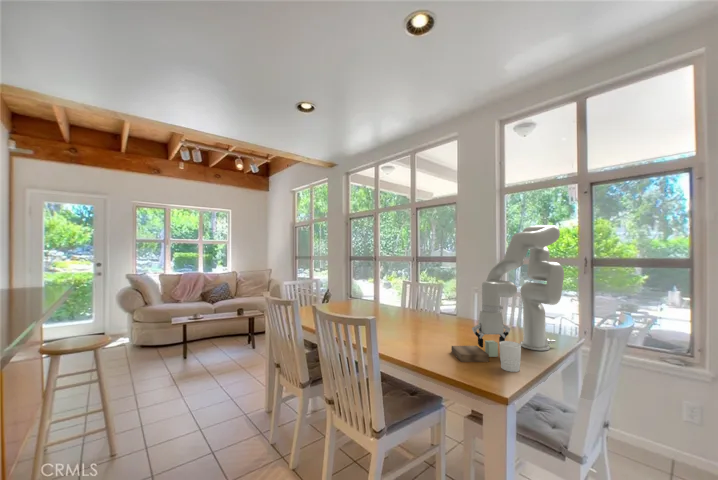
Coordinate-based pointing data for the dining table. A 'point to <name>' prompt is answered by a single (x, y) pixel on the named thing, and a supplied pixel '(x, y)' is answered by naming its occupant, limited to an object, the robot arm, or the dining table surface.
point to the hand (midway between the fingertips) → (491, 346)
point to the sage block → (491, 348)
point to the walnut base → (470, 354)
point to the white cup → (510, 355)
